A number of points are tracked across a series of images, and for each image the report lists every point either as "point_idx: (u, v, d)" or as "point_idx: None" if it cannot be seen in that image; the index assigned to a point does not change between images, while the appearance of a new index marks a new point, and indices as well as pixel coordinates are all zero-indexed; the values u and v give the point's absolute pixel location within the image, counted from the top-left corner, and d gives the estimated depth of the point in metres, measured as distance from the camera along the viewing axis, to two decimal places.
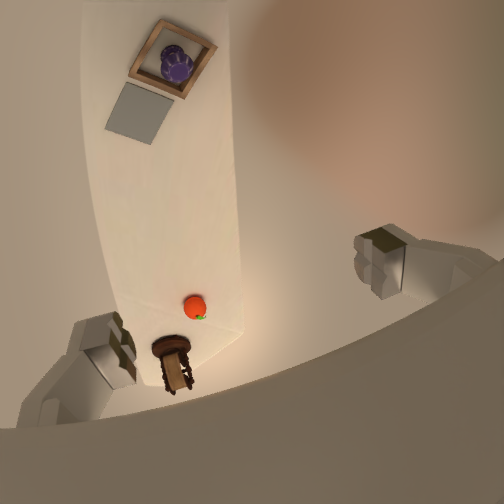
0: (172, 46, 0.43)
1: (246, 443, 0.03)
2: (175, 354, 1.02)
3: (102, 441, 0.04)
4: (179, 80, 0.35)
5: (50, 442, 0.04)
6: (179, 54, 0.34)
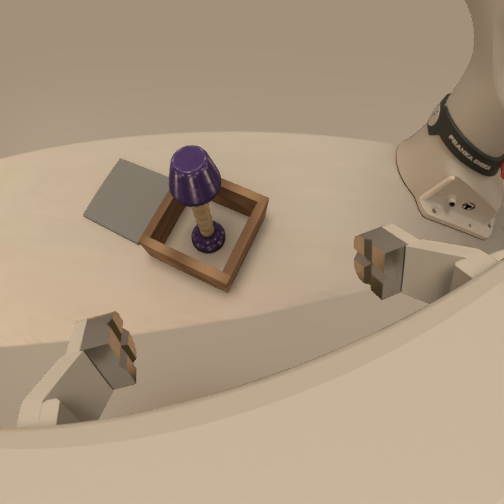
0: (223, 233, 0.38)
1: (246, 443, 0.03)
2: None
3: (103, 441, 0.04)
4: (173, 161, 0.23)
5: (50, 442, 0.04)
6: (218, 177, 0.25)
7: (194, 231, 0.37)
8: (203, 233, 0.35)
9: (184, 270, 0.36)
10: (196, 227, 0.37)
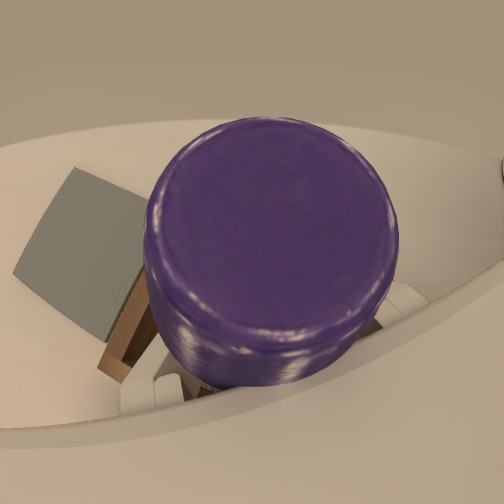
0: None
1: (246, 443, 0.03)
2: None
3: (103, 441, 0.04)
4: (164, 223, 0.03)
5: (50, 442, 0.04)
6: None
7: None
8: None
9: None
10: None
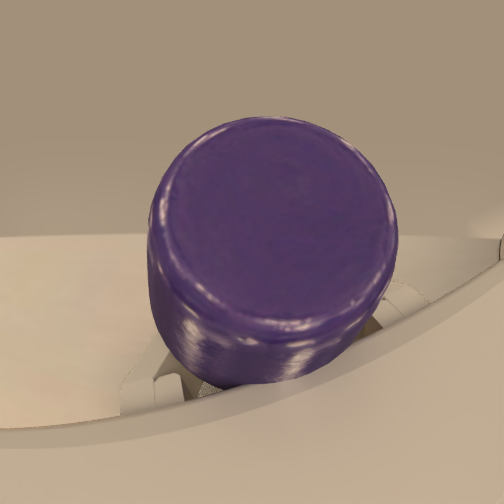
0: None
1: (246, 443, 0.03)
2: None
3: (103, 441, 0.04)
4: (170, 217, 0.03)
5: (50, 442, 0.04)
6: None
7: None
8: None
9: None
10: None
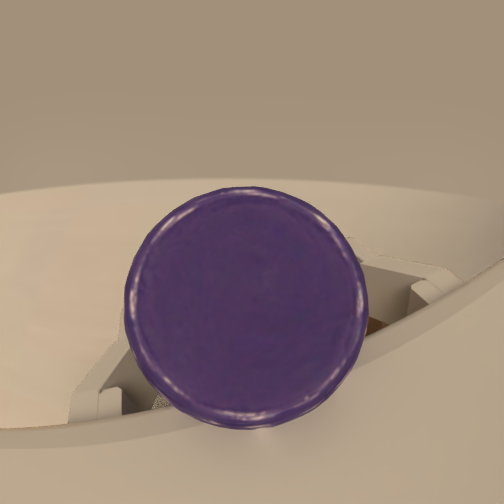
0: None
1: (246, 443, 0.03)
2: None
3: (103, 441, 0.04)
4: (139, 311, 0.03)
5: (50, 442, 0.04)
6: None
7: None
8: None
9: None
10: None
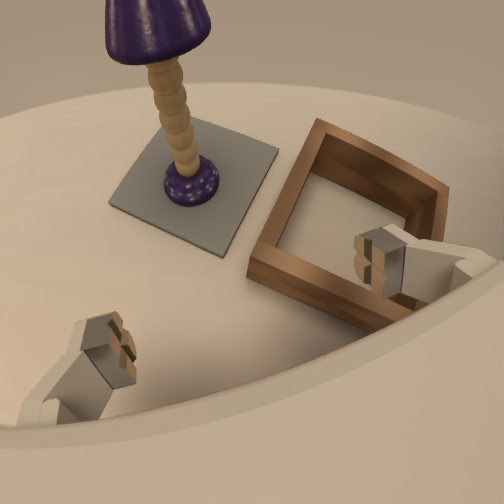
0: (216, 173, 0.22)
1: (246, 443, 0.03)
2: None
3: (102, 441, 0.04)
4: None
5: (50, 442, 0.04)
6: (205, 11, 0.09)
7: (167, 170, 0.21)
8: (180, 167, 0.19)
9: (321, 306, 0.20)
10: (171, 164, 0.21)
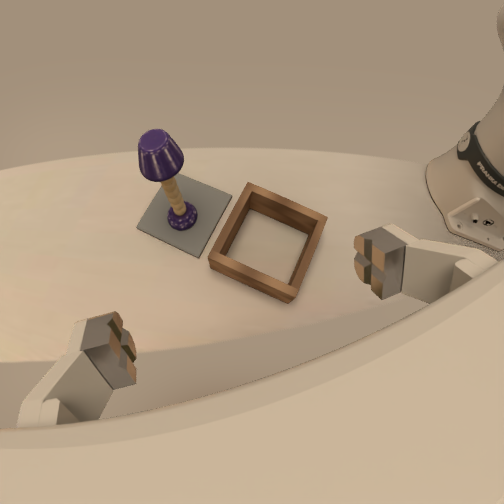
0: (195, 212, 0.41)
1: (246, 443, 0.03)
2: None
3: (103, 441, 0.04)
4: (140, 141, 0.26)
5: (50, 442, 0.04)
6: (180, 156, 0.28)
7: (169, 210, 0.40)
8: (175, 211, 0.38)
9: (248, 283, 0.38)
10: (171, 207, 0.40)
